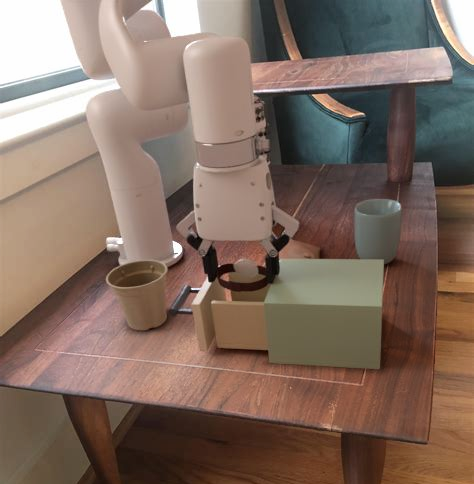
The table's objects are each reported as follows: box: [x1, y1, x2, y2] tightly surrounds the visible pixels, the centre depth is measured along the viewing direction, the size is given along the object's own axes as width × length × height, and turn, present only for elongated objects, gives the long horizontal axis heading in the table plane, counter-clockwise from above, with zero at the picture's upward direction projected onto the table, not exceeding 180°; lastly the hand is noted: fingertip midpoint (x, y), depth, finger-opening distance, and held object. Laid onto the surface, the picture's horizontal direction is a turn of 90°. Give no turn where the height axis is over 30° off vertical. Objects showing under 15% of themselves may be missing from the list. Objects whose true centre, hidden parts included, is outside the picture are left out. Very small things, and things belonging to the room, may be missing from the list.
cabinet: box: [264, 258, 385, 370], centre depth 75 cm, size 15×13×10 cm
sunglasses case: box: [279, 238, 322, 262], centre depth 95 cm, size 18×7×7 cm
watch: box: [216, 257, 269, 292], centre depth 75 cm, size 8×5×4 cm, turn 68°
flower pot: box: [105, 260, 169, 331], centre depth 85 cm, size 9×9×9 cm
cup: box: [353, 198, 403, 266], centre depth 94 cm, size 8×8×10 cm
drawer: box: [167, 264, 271, 353], centre depth 79 cm, size 18×11×8 cm, turn 76°
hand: (242, 277), depth 76 cm, fingers closed on watch, 7 cm apart
